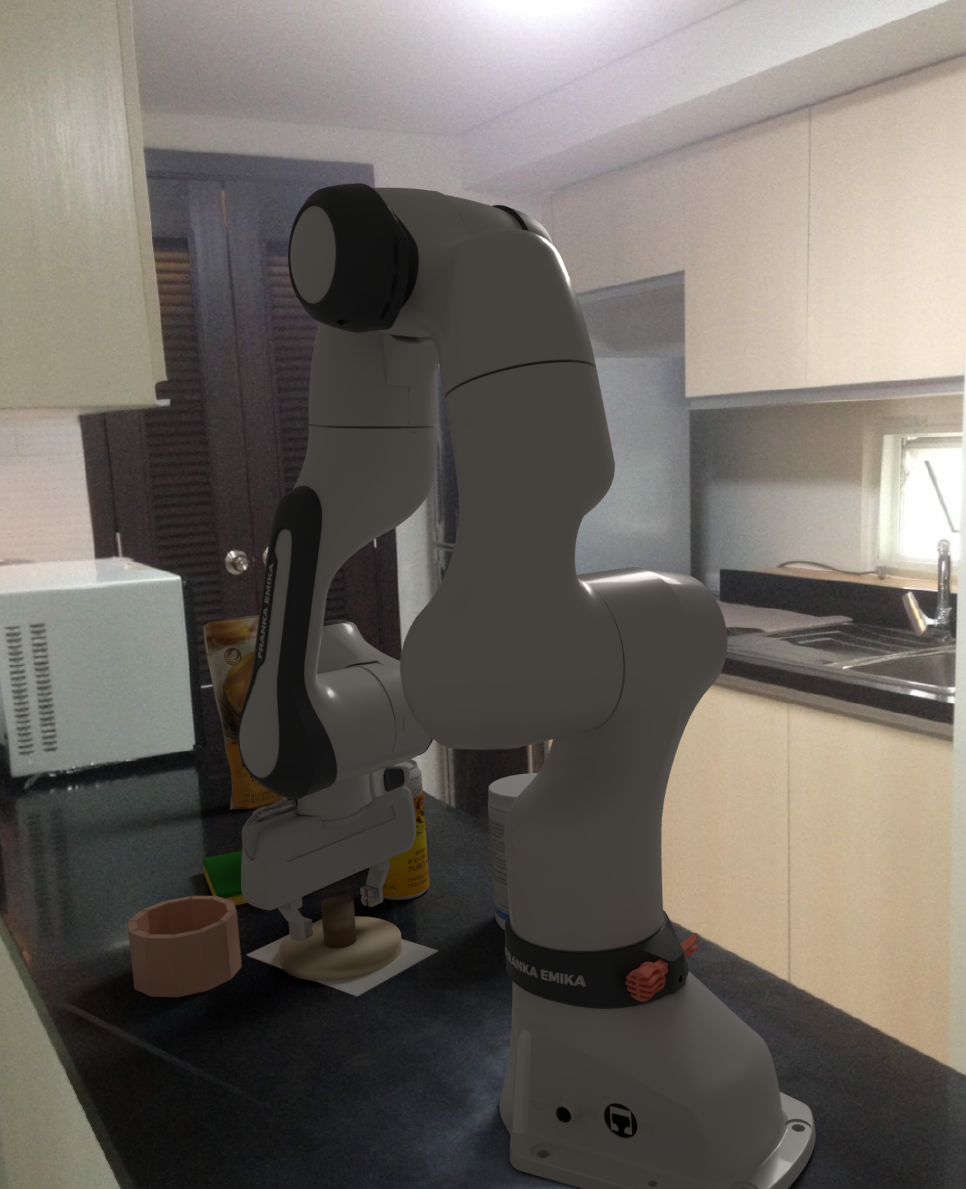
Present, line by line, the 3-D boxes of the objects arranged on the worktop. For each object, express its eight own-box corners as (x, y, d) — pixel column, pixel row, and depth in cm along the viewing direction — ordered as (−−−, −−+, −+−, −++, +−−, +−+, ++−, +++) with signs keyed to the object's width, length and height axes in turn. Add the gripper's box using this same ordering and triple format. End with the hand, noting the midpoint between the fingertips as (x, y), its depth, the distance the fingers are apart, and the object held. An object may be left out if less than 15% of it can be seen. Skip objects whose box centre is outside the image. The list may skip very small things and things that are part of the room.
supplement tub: (581, 943, 107) (573, 798, 105) (487, 940, 109) (477, 798, 107) (591, 904, 116) (584, 770, 115) (504, 902, 118) (496, 771, 117)
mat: (438, 954, 106) (438, 950, 106) (357, 1000, 98) (357, 996, 98) (328, 919, 117) (328, 916, 117) (246, 958, 108) (246, 954, 108)
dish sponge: (219, 915, 121) (217, 894, 121) (204, 876, 134) (202, 857, 134) (282, 902, 123) (280, 881, 123) (261, 865, 136) (259, 846, 136)
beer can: (422, 905, 119) (412, 772, 117) (369, 904, 120) (359, 772, 119) (435, 884, 125) (426, 757, 123) (385, 883, 126) (375, 757, 124)
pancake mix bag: (213, 805, 162) (195, 620, 159) (332, 781, 171) (318, 606, 168) (225, 816, 156) (207, 624, 153) (348, 790, 165) (333, 609, 162)
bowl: (262, 967, 106) (256, 908, 105) (174, 1010, 98) (167, 947, 98) (200, 944, 112) (195, 888, 112) (113, 982, 105) (107, 923, 104)
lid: (426, 944, 108) (423, 894, 107) (337, 993, 99) (333, 938, 98) (344, 918, 116) (340, 871, 115) (254, 961, 107) (250, 911, 106)
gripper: (263, 820, 96) (276, 969, 97) (421, 763, 111) (430, 892, 113) (219, 809, 100) (232, 952, 101) (378, 755, 115) (387, 880, 117)
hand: (338, 920), depth 107 cm, fingers open, 8 cm apart
